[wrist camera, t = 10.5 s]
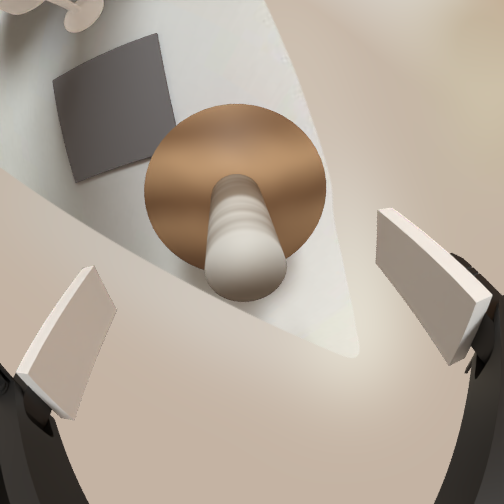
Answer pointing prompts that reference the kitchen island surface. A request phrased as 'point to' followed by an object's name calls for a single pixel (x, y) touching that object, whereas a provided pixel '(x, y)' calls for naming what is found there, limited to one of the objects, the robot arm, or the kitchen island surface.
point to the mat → (114, 108)
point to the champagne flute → (77, 15)
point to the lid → (236, 196)
